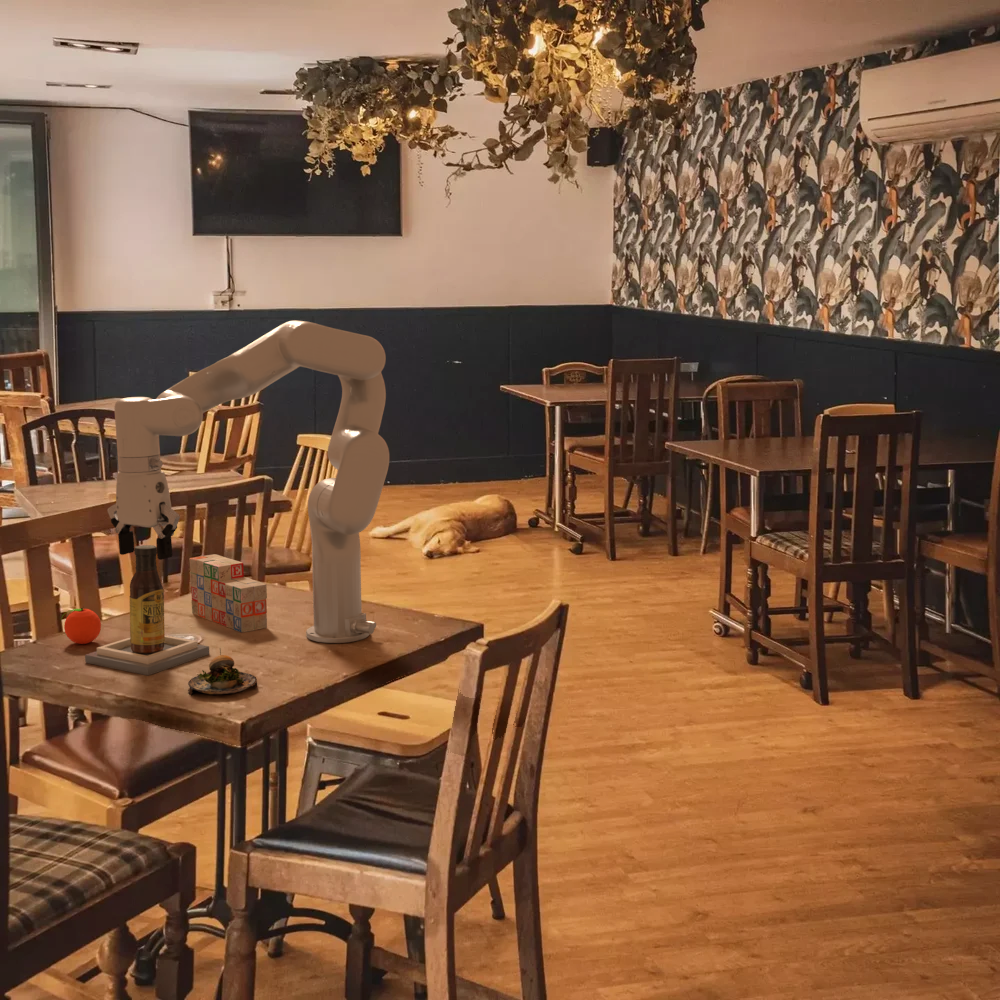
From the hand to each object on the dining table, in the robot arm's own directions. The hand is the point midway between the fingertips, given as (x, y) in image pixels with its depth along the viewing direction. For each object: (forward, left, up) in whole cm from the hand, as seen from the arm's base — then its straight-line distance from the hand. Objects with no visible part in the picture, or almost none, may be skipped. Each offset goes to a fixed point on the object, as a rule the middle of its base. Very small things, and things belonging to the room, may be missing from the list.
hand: (145, 555), depth 253 cm
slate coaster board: (0, 0, -20) cm, 20 cm away
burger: (-25, +7, -20) cm, 33 cm away
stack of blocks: (+6, -29, -20) cm, 36 cm away
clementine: (+19, -1, -20) cm, 28 cm away
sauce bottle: (0, 0, -18) cm, 18 cm away
